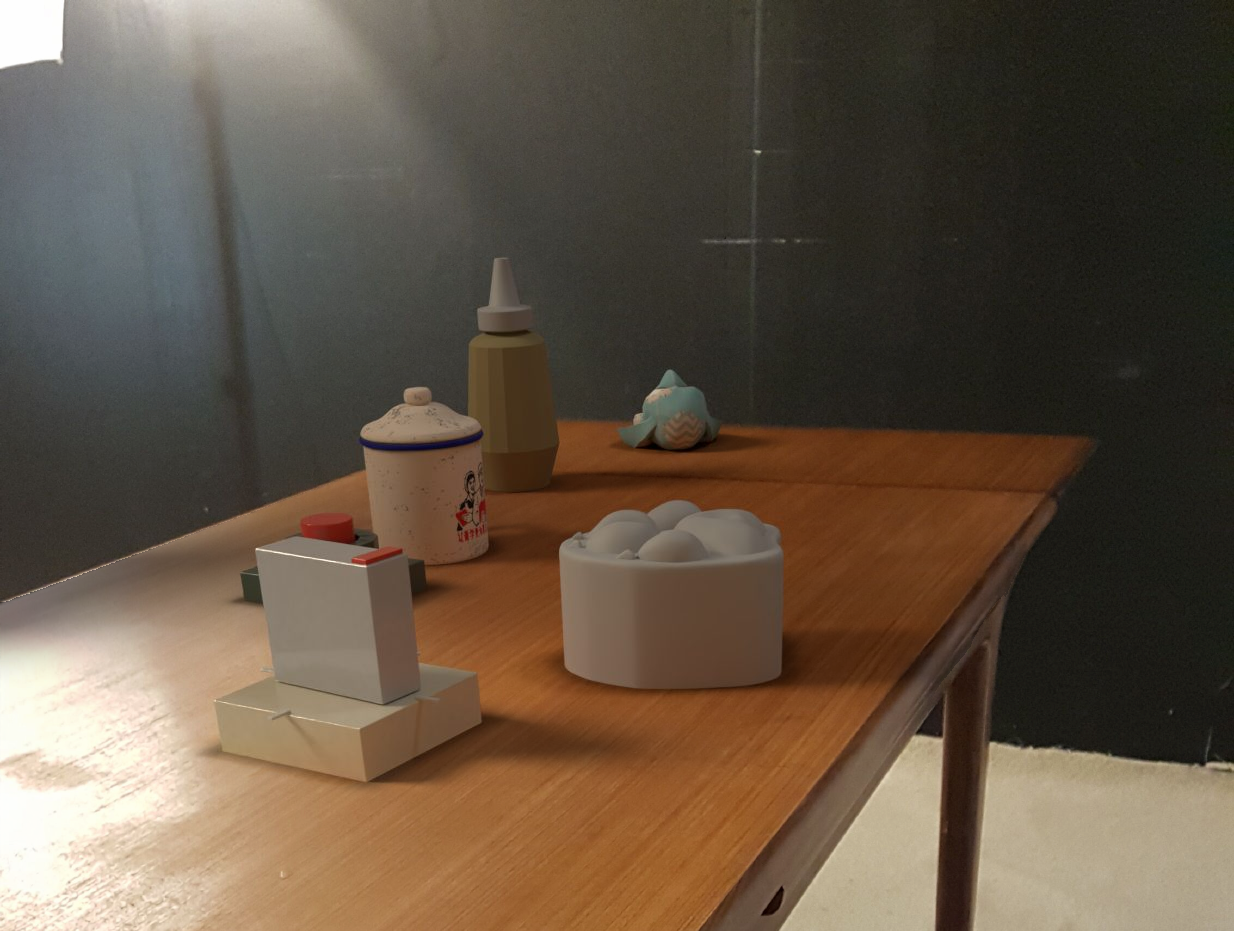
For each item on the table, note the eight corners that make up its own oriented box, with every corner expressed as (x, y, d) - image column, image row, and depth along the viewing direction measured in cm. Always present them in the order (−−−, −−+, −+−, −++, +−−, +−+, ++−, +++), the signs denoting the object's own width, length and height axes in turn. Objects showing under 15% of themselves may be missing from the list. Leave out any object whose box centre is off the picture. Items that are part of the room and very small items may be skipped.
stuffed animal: (706, 370, 157) (738, 361, 146) (710, 448, 160) (741, 445, 149) (601, 378, 155) (624, 369, 144) (606, 456, 158) (630, 453, 147)
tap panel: (193, 757, 84) (182, 700, 83) (341, 691, 93) (334, 638, 91) (370, 797, 79) (362, 736, 77) (510, 722, 87) (506, 666, 86)
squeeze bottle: (508, 501, 134) (492, 264, 125) (452, 488, 140) (432, 260, 130) (580, 486, 139) (570, 255, 129) (523, 473, 144) (509, 251, 134)
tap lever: (274, 681, 85) (253, 543, 81) (313, 665, 87) (294, 530, 83) (383, 705, 81) (366, 561, 77) (422, 689, 83) (407, 548, 79)
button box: (244, 603, 110) (234, 544, 108) (320, 576, 116) (312, 519, 113) (354, 621, 105) (347, 559, 103) (427, 591, 111) (422, 533, 109)
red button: (292, 548, 108) (288, 521, 107) (327, 536, 111) (323, 510, 110) (332, 553, 106) (329, 526, 105) (366, 541, 109) (363, 515, 108)
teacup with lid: (485, 567, 116) (472, 396, 110) (363, 570, 116) (343, 400, 110) (501, 529, 126) (489, 371, 120) (388, 532, 126) (371, 374, 120)
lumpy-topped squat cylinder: (783, 690, 90) (786, 533, 86) (557, 694, 91) (549, 539, 86) (776, 636, 99) (779, 492, 94) (571, 641, 100) (564, 498, 95)
